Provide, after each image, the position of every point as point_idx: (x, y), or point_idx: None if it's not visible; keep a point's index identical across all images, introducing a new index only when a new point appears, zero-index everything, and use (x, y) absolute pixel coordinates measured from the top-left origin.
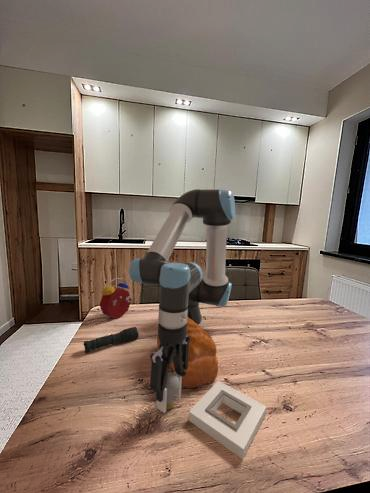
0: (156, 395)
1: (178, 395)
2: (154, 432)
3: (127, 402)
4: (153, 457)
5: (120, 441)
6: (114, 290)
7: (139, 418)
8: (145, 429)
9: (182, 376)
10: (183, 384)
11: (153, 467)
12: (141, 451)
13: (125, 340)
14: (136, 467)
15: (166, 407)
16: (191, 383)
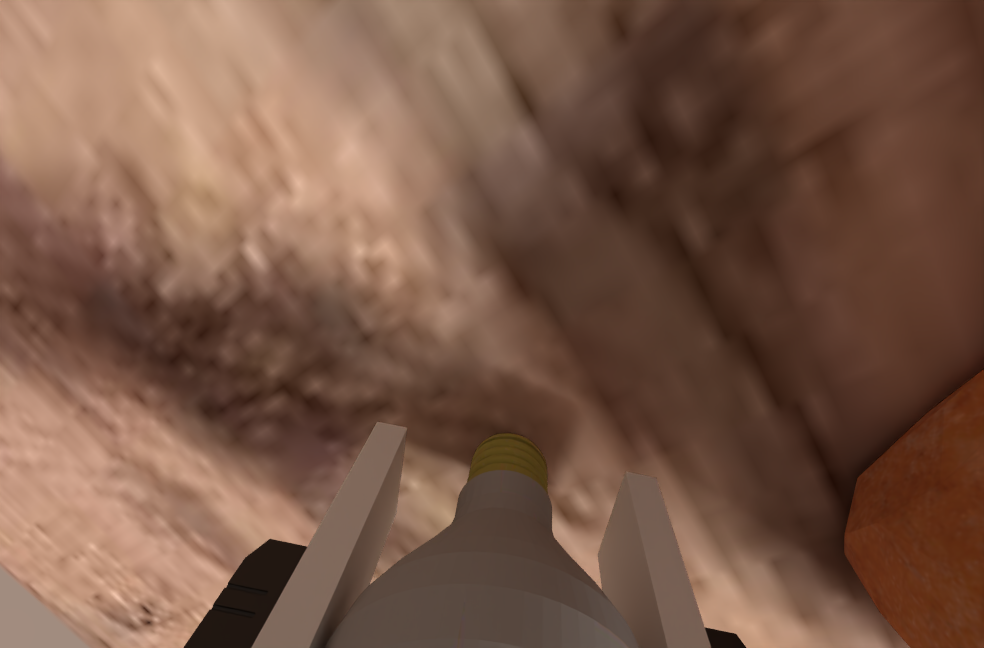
0: (217, 607)
1: (604, 576)
2: (250, 458)
3: (312, 10)
4: (127, 530)
5: (11, 279)
6: None
7: (257, 282)
8: (220, 388)
9: (937, 554)
10: (868, 476)
11: (91, 553)
12: (92, 452)
13: None
14: (13, 477)
15: (471, 463)
16: (875, 603)
